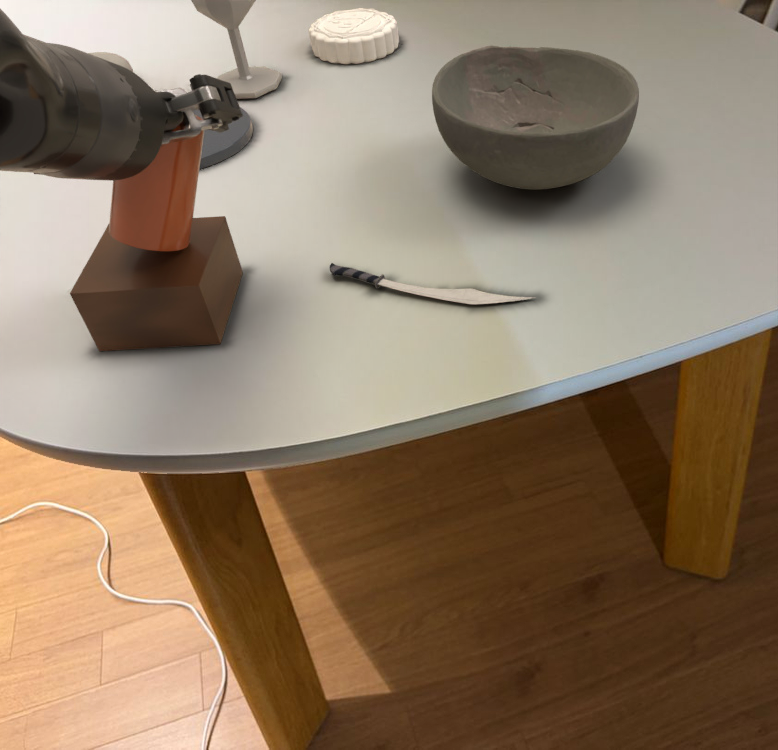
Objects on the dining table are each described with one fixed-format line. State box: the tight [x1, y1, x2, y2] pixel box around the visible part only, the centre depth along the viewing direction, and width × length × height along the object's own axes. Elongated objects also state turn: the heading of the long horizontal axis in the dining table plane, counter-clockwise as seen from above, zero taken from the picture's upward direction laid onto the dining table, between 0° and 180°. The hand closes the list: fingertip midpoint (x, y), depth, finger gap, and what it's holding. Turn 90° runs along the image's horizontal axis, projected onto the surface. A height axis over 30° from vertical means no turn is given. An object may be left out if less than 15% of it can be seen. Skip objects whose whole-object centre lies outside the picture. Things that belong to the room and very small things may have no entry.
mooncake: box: [308, 7, 400, 65], centre depth 110 cm, size 12×12×4 cm
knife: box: [329, 262, 537, 305], centre depth 70 cm, size 19×2×1 cm, turn 74°
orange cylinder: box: [108, 115, 204, 251], centre depth 63 cm, size 6×6×10 cm
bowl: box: [431, 45, 640, 190], centre depth 81 cm, size 20×20×10 cm
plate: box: [193, 107, 254, 170], centre depth 92 cm, size 16×16×1 cm
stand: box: [69, 215, 244, 352], centre depth 67 cm, size 10×10×6 cm
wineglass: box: [190, 0, 283, 100], centre depth 96 cm, size 9×9×21 cm
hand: (170, 135), depth 64 cm, fingers open, 8 cm apart
